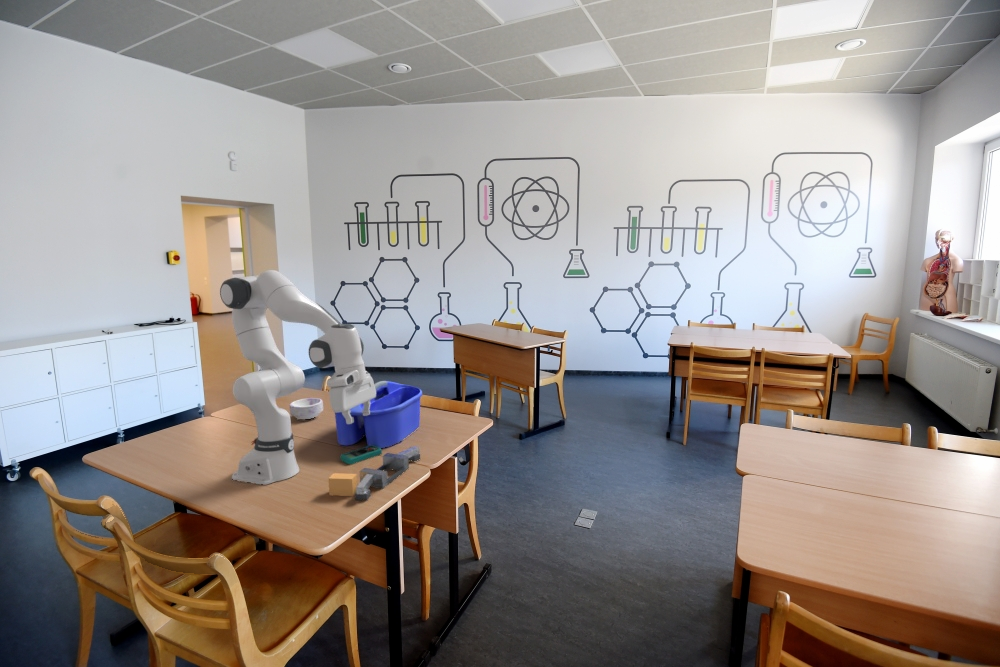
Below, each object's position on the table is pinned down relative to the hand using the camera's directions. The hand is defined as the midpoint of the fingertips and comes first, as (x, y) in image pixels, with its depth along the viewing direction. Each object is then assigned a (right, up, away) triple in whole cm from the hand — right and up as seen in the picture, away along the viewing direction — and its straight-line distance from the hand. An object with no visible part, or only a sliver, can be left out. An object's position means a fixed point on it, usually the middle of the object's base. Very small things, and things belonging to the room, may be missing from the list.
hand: (358, 419), depth 156 cm
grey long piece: (+3, -24, +23) cm, 33 cm away
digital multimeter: (-10, -22, +41) cm, 48 cm away
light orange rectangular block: (-8, -26, +11) cm, 30 cm away
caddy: (-9, -18, +67) cm, 70 cm away
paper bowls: (-51, -15, +90) cm, 105 cm away
